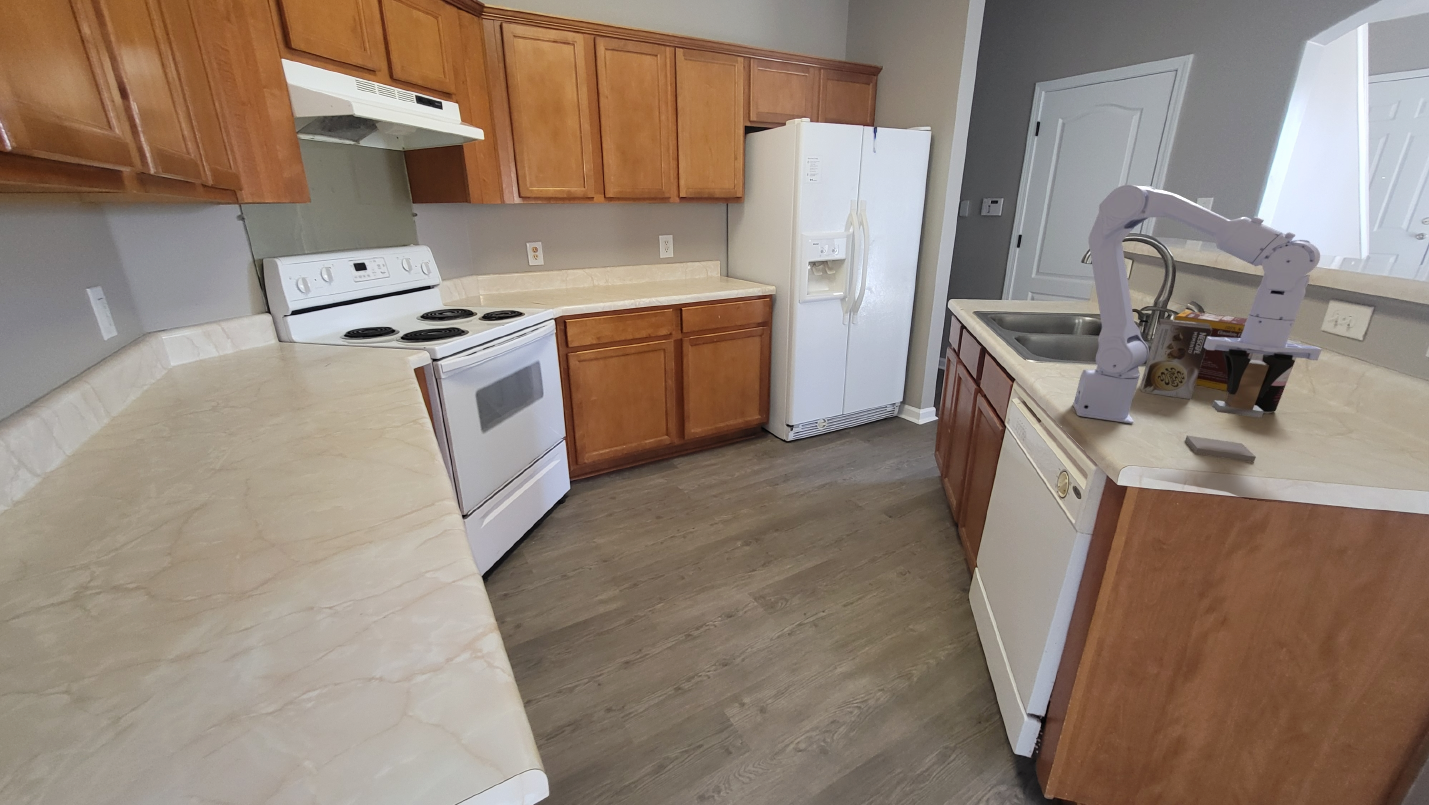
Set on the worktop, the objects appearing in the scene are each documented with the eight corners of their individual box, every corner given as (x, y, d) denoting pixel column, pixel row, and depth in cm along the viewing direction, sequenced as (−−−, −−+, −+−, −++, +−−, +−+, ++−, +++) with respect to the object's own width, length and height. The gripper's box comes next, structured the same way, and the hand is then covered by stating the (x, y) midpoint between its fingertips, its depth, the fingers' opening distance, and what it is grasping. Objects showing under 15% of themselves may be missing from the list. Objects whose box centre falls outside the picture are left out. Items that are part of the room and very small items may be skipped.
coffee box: (1187, 392, 131) (1209, 322, 125) (1190, 400, 126) (1214, 328, 120) (1139, 384, 135) (1158, 317, 130) (1140, 392, 130) (1161, 322, 125)
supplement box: (1236, 393, 131) (1260, 326, 125) (1155, 377, 141) (1174, 314, 136) (1242, 384, 137) (1266, 320, 132) (1165, 369, 148) (1183, 309, 143)
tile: (1184, 443, 105) (1194, 456, 100) (1186, 435, 104) (1197, 448, 99) (1238, 451, 102) (1252, 465, 97) (1241, 443, 101) (1255, 456, 96)
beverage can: (1244, 401, 125) (1269, 334, 120) (1281, 411, 120) (1309, 342, 115) (1227, 405, 123) (1251, 337, 118) (1264, 415, 117) (1291, 345, 112)
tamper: (1217, 412, 100) (1235, 361, 97) (1212, 406, 103) (1229, 357, 100) (1261, 417, 98) (1280, 366, 95) (1254, 412, 101) (1273, 361, 97)
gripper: (1225, 316, 94) (1199, 394, 98) (1342, 326, 88) (1309, 408, 93) (1210, 309, 100) (1187, 383, 104) (1320, 317, 94) (1290, 395, 99)
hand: (1243, 394), depth 99 cm, fingers closed on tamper, 3 cm apart
